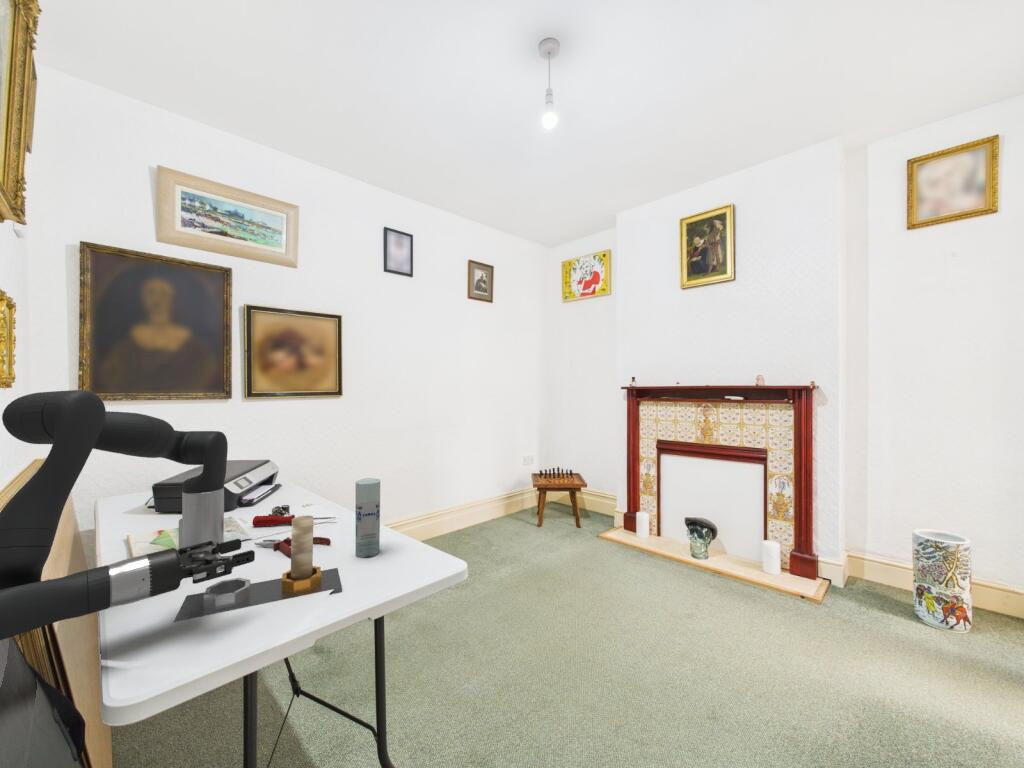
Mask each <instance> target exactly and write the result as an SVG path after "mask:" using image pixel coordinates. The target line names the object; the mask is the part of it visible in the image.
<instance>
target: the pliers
mask: <svg viewBox="0 0 1024 768" xmlns="http://www.w3.org/2000/svg"><path fill="white" fill-rule="evenodd" d="M254 545H256V546H260V547H263V548H268V549H272V550H274V551H273V552H277V550H278V551H280V553H282V554H283V555H285V556H286V557H288V558H290V559H291V537H289V536H288V537H286V538H284V539H283V540H282V539H277V538H275V539H263V540H262V541H260V542H254ZM313 545H322V546H330V545H331V539H330V538H329V537H323V536H313Z"/></svg>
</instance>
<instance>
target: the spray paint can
mask: <svg viewBox="0 0 1024 768" xmlns="http://www.w3.org/2000/svg"><path fill="white" fill-rule="evenodd" d="M380 519H381V479H379V478H375V477H374V478H373V477H372V478H362V479H358V480H356V481H355V556H356V557H357V558H360V559H367V558H369V559H370V558H373V557H376V556H378V555H379V553H380V537H381V536H380V534H381V533H380V532H381V529H380V528H381V527H380V526H381V520H380Z"/></svg>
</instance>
